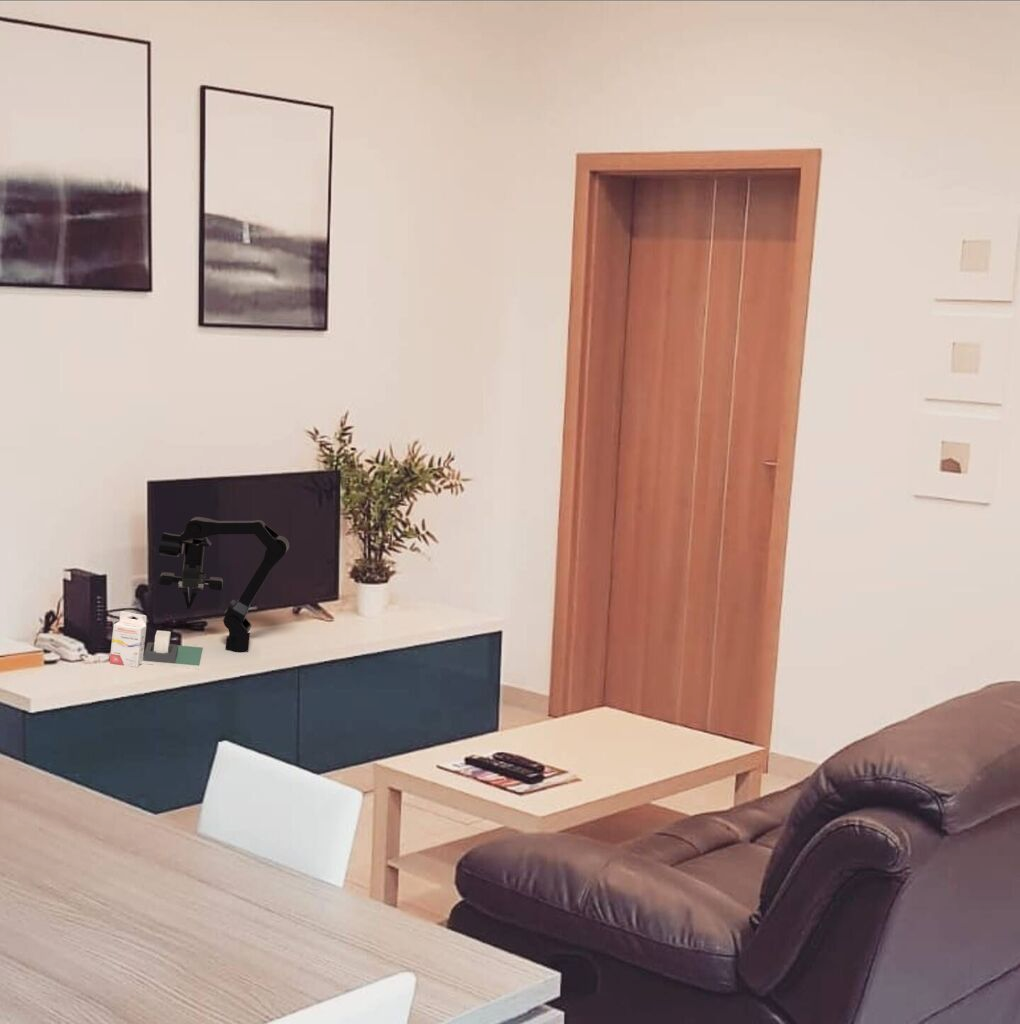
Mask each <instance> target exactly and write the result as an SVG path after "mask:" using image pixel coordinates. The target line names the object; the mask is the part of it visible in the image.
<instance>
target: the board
mask: <svg viewBox="0 0 1020 1024" xmlns="http://www.w3.org/2000/svg"><path fill="white" fill-rule="evenodd" d="M154 643H155V642H147V643H146V645H145V646H146V647H145V648H144V655H143V661H144V662H152V663H162V664H163V663H164V664H165V663H166V664H175V665H184V666H185V665H188V666H198V667H199V666H200V664H201V659H202V655H203V650H204V647H200V646H189V645H188V646H187V645H179V644H173V643H170V645H169V653H167V652H165V653H156V652H155V651H154ZM148 665H151V666H153V664H151V663H148Z"/></svg>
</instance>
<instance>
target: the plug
mask: <svg viewBox="0 0 1020 1024" xmlns="http://www.w3.org/2000/svg"><path fill="white" fill-rule="evenodd" d="M170 641H171V631H169V630H168V631H167V630H156V632H155V635H154V642H153V643H154V651H155V652H156V653H165V652H167V653H169V645H170V644H171V642H170Z"/></svg>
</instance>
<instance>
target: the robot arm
mask: <svg viewBox="0 0 1020 1024" xmlns="http://www.w3.org/2000/svg"><path fill="white" fill-rule="evenodd" d="M214 535H215V536H216V535H255V536H256V537H257V539H259V541H260V542H261V544H262V545H263V546H264V547H266V550H265V553H264V555H263V557H262V561H261V563H260V565H259V567H258V568H257V570H256V572H255V573H254V575H253V577H252V578H251V580H250V582H249V583H248V585H247V586H246V588H245V589H244V591H243V593H242V595H241V596H240V598H239V599H238V600H237V601H236V600H235V599H232V600H231V601H230V603H229V605H228V607H227V608H226V610H225V611H224V613H223V620H222V621H223V625H224V627H226V629H227V630H228V635H227V636H226V640H225V641H226V642H225V651H229V652H233V653H248V652H249V647H250V636H251V633H250V632H249V631H250V630H251V628H252V625H253V624H252V623H251V622H250V621H249V620H248V619H247V615H248V613H249V609H250V606H251V604H252V602H253V601H254V600H255V597H256V595H257V594H258V592H259V591H260V589H261V587H262V586H263V584H264V583H265V580H266V579H267V578H268V576H269V575H270V573H271V571H272V570H273V568H274V567H275V566H276V565H277V564H278V562H280V560H282V558H283V557H284V556H285V554H286V553H287V551H288V550H289V549H290V543H289V540H288V538H287V537H285V536H283V535H279V534H278V532H276V531H275V530H273V528H271V527H270V526H269V525H267V524H266V523H265V522H264V521H263V520H260V519H257V520H216V519H211V518H208V517H202V516H196V517H195V516H194V517H193V518H192V519H190V520H189V521H188V522H187V524H186V526H185V530H184V531H183V532H181V533H180V534H174V533H169V532H163V533H161V538H160V544H159V546H158V554H159V555H160V556H166V557H167V556H169V557H176V558H179V556H180V555H183V554H184V555H183V564H182V565H183V567H182V571H181V576H175V573H173V572H165V571H162V572H161V574H160V576H159V580H158V581H159V582H158V584H159V585H160V586H161V585H162V586H171V585H172V584H173V583H176V584H178V587H177V589H178V590H181V591H182V594H183V596H184V601H185V605H186V609H188V610H190V609H191V607H192V605H193V602H194V600H195V598H196V596H197V595H198V593H199V592H202V591H203V590H204V587H205V586H208V588H209V589H210V590H213V591H222V590H223V586H224V580H223V578H222V577H217V576H210V577H209V579H206V578H207V576H206V575H207V572H204V571H203V565H204V555H205V547H207V548H209V547H210V546H211V545H212V542H211V541H210V540H209V539H208V537H211V536H214ZM201 538H202V539H201ZM203 538H204V539H203ZM191 539H192V540H191ZM190 588H192V589H191V590H192V591H191V594H190ZM190 595H191V596H190Z"/></svg>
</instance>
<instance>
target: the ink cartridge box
mask: <svg viewBox="0 0 1020 1024" xmlns="http://www.w3.org/2000/svg"><path fill="white" fill-rule="evenodd" d="M129 617H130V618H129ZM131 617H134V618H136V619H133V618H131ZM147 619H148V617H147V615H145V614H139V613H133V612H129V611H123V610H121V611H120V612H119V621H117V622H116V623H114V624H113V629H112V636H111V645H110V656H109V664H113V665H119V666H124V665H125V666H124V667H130V666H132V667H131V668H136V667H137V668H139V667H140V666H141V665H142V662H143V661H144V652H145V646H146V645H145V644H146V634H147Z"/></svg>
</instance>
